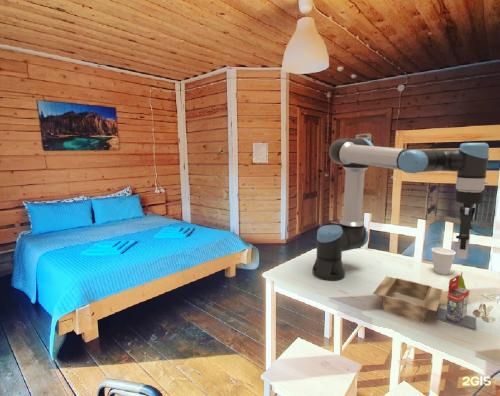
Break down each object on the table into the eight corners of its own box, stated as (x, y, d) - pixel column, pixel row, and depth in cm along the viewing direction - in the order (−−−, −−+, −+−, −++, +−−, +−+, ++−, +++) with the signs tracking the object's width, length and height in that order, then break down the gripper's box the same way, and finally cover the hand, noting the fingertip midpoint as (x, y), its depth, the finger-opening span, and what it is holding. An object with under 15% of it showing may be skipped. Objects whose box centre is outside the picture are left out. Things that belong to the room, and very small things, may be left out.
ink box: (466, 316, 103) (471, 277, 101) (456, 323, 99) (461, 283, 96) (455, 311, 106) (459, 273, 104) (445, 318, 102) (448, 279, 99)
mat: (436, 318, 103) (436, 317, 103) (438, 309, 109) (439, 307, 109) (475, 330, 96) (475, 328, 96) (475, 319, 102) (476, 317, 102)
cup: (458, 274, 139) (460, 252, 137) (445, 278, 134) (448, 255, 132) (437, 266, 147) (439, 246, 146) (424, 270, 143) (426, 249, 141)
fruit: (446, 300, 115) (449, 272, 113) (449, 294, 119) (451, 267, 118) (466, 306, 111) (469, 276, 109) (468, 299, 115) (471, 271, 113)
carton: (372, 307, 111) (373, 292, 110) (385, 288, 126) (386, 275, 125) (434, 326, 98) (436, 310, 97) (441, 303, 113) (442, 288, 112)
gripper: (484, 196, 83) (475, 266, 87) (484, 187, 102) (477, 244, 106) (452, 194, 88) (445, 261, 91) (458, 185, 107) (452, 241, 110)
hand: (462, 252), depth 99 cm, fingers open, 13 cm apart
